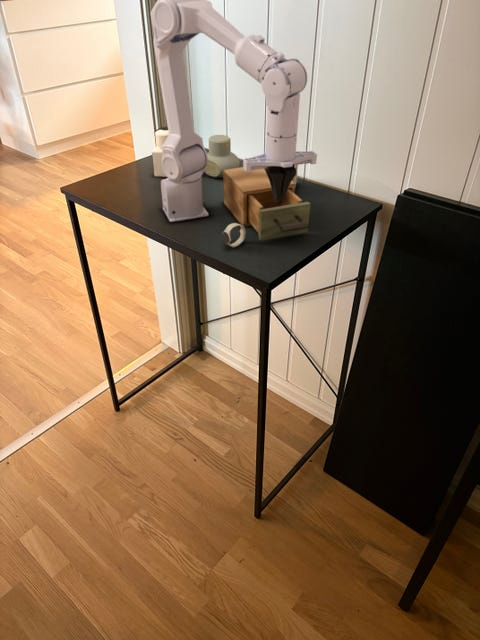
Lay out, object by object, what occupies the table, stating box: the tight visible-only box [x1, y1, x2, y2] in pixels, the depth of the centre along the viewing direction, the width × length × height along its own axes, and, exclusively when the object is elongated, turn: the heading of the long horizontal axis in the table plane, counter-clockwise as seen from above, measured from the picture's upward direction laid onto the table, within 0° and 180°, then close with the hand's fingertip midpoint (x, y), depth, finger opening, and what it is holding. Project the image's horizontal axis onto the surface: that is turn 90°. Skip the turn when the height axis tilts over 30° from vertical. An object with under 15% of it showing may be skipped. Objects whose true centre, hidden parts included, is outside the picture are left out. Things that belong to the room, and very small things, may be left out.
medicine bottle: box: [151, 126, 169, 178], centre depth 135 cm, size 7×7×12 cm
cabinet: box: [222, 166, 296, 228], centre depth 117 cm, size 14×13×9 cm
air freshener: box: [203, 134, 241, 179], centre depth 135 cm, size 11×8×10 cm
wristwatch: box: [221, 222, 247, 248], centre depth 105 cm, size 3×5×5 cm, turn 129°
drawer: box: [247, 188, 311, 242], centre depth 108 cm, size 17×11×7 cm, turn 21°
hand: (278, 201), depth 100 cm, fingers closed
